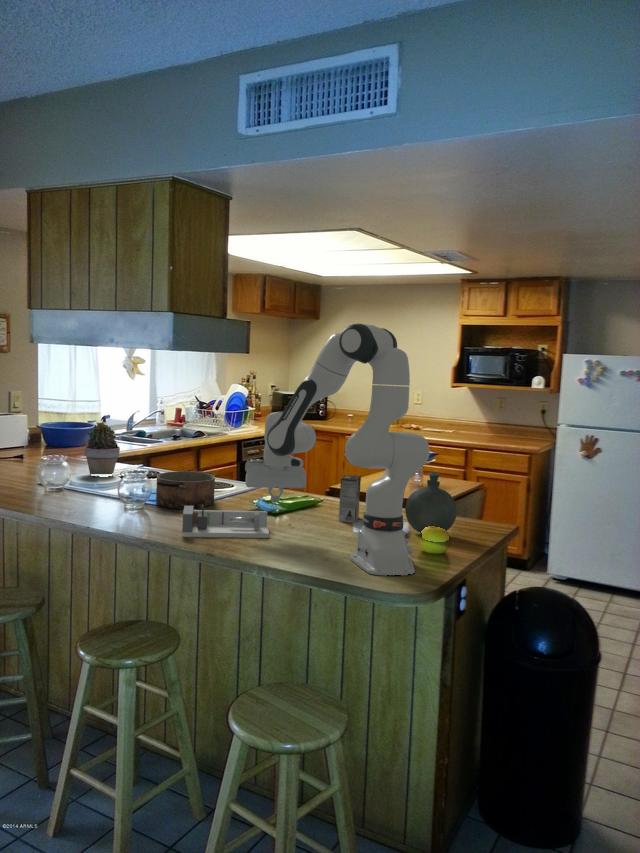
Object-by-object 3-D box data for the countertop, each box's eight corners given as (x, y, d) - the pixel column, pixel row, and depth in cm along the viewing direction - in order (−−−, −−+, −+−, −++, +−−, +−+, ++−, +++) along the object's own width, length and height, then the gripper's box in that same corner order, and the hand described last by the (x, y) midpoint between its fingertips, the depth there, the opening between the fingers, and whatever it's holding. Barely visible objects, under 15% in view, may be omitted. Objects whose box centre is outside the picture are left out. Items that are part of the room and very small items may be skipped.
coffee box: (342, 515, 264) (344, 474, 262) (358, 517, 262) (361, 475, 261) (338, 521, 255) (340, 478, 253) (355, 523, 254) (357, 480, 252)
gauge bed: (268, 537, 227) (270, 515, 226) (182, 536, 223) (183, 514, 222) (266, 528, 239) (267, 507, 238) (183, 527, 234) (184, 505, 234)
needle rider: (206, 528, 227) (207, 507, 226) (197, 528, 227) (198, 507, 226) (206, 524, 232) (207, 504, 231) (197, 524, 232) (198, 503, 231)
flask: (446, 542, 234) (451, 478, 231) (400, 533, 242) (404, 471, 240) (458, 535, 244) (462, 474, 241) (413, 527, 252) (417, 467, 250)
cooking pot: (188, 514, 253) (189, 485, 252) (138, 506, 262) (138, 478, 260) (229, 500, 281) (230, 474, 280) (182, 493, 289) (183, 467, 288)
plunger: (258, 529, 229) (259, 514, 229) (229, 529, 228) (230, 514, 227) (257, 525, 235) (258, 510, 235) (229, 524, 234) (230, 510, 233)
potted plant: (113, 470, 330) (114, 418, 328) (127, 477, 315) (129, 423, 312) (75, 472, 320) (75, 419, 317) (87, 480, 304) (89, 424, 302)
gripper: (246, 460, 225) (244, 502, 226) (308, 461, 229) (306, 503, 230) (244, 458, 231) (243, 498, 232) (305, 459, 235) (303, 499, 236)
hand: (275, 500), depth 231 cm, fingers closed
